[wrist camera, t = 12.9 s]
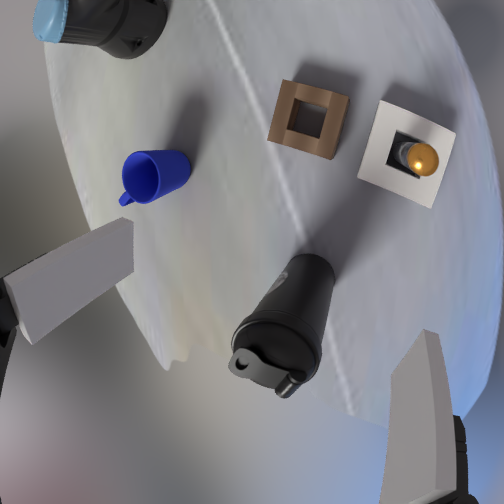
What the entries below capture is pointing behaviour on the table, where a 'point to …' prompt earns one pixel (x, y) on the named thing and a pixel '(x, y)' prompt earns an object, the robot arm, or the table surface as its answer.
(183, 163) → the mug
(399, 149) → the pin
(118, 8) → the robot arm
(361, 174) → the dock block
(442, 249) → the table surface
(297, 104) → the mount block
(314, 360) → the water bottle
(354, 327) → the table surface
